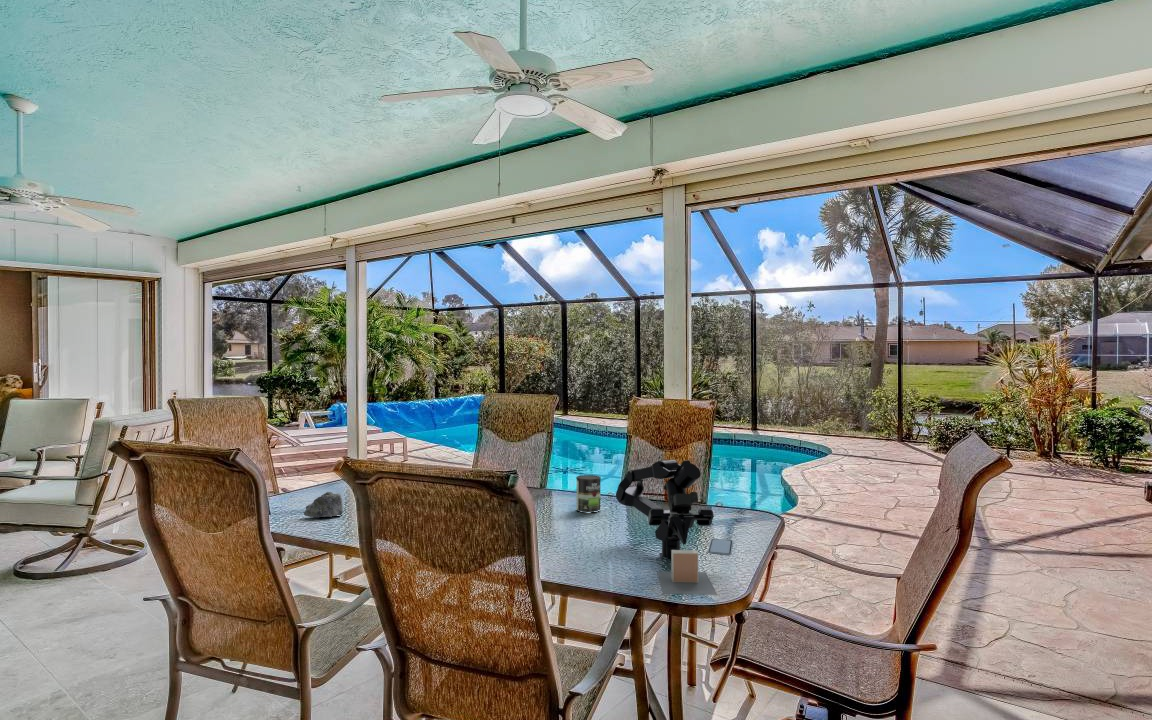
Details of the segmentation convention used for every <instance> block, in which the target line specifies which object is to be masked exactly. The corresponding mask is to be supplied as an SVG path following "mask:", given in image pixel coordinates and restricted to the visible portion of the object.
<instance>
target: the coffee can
mask: <svg viewBox="0 0 1152 720" xmlns="http://www.w3.org/2000/svg"><path fill="white" fill-rule="evenodd" d="M575 478H576V509H577V510H578V511H582V512H594V511H598V510H600V511H601V479H602V477H601V476H600V475H595V474H594V475H593V474H582V475H577V476H576V477H575Z"/></svg>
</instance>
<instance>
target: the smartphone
mask: <svg viewBox="0 0 1152 720" xmlns="http://www.w3.org/2000/svg"><path fill="white" fill-rule="evenodd" d="M733 544H734V540H732V539H725V538H724V539H723V538H711V539H710V543H709V546H708V549H707V553H708V554H711V553H712V554H713V555H722V556H731V555H732V552H733V546H734V545H733Z"/></svg>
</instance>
